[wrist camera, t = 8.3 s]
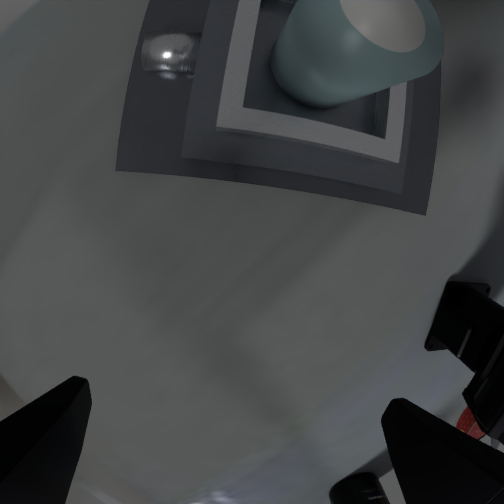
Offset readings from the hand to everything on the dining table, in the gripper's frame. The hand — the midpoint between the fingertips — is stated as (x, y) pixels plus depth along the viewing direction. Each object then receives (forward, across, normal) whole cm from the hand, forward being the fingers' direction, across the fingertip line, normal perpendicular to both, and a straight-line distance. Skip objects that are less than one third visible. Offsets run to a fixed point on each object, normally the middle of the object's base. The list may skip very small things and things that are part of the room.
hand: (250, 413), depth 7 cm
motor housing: (+12, -2, -12) cm, 17 cm away
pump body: (+9, -2, -12) cm, 15 cm away
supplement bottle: (+12, -20, +28) cm, 36 cm away
